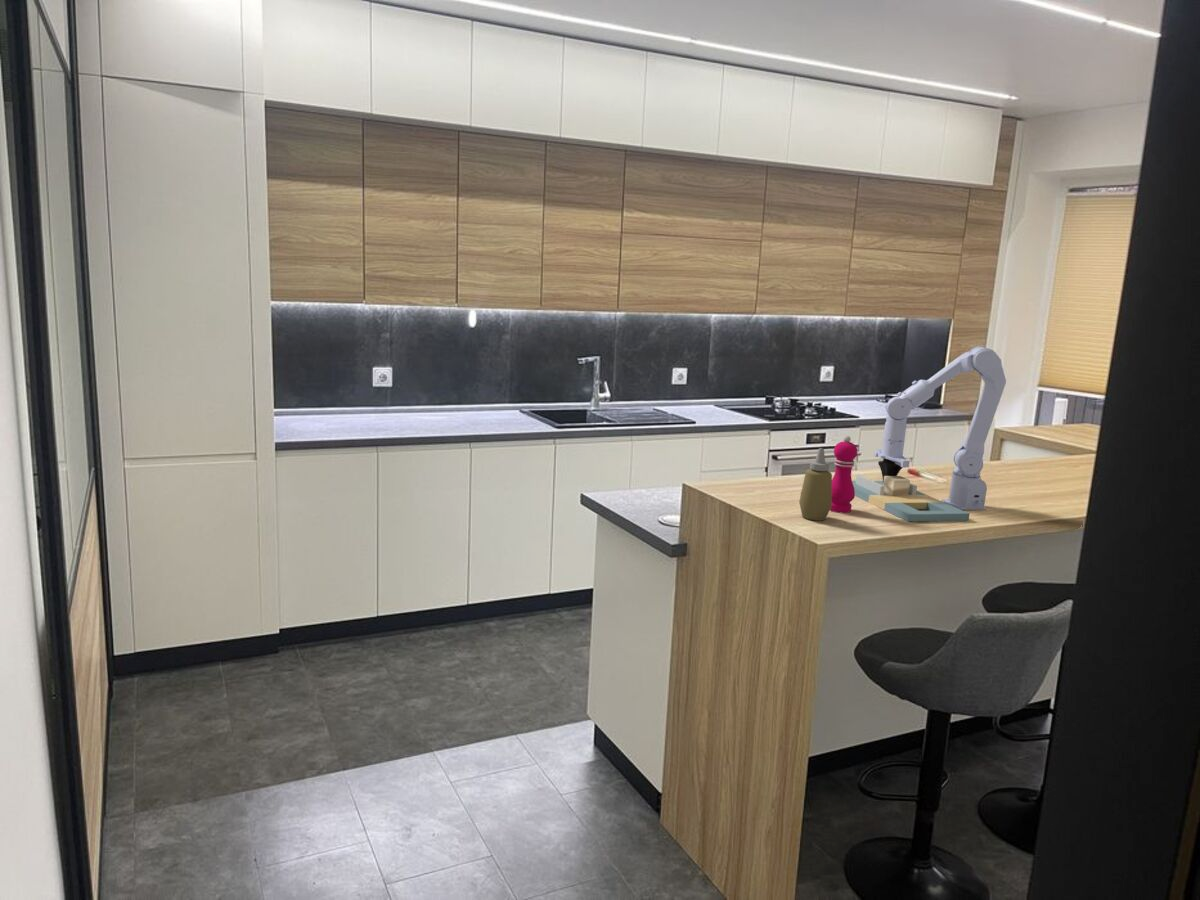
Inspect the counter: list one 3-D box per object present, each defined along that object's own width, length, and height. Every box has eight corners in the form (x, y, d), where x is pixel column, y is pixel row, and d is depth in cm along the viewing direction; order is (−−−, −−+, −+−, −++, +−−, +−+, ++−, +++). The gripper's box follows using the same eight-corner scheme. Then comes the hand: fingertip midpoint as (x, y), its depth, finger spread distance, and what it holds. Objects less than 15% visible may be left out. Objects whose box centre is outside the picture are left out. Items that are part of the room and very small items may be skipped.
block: (908, 495, 242) (910, 480, 241) (892, 496, 241) (894, 480, 240) (897, 491, 246) (899, 475, 246) (882, 491, 245) (884, 475, 244)
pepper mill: (833, 513, 226) (842, 438, 222) (819, 506, 233) (828, 433, 229) (858, 513, 228) (867, 438, 224) (843, 505, 235) (852, 433, 231)
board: (968, 520, 227) (971, 504, 226) (907, 521, 223) (910, 505, 222) (893, 487, 260) (895, 472, 259) (839, 487, 256) (841, 472, 255)
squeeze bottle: (791, 516, 221) (798, 447, 218) (808, 511, 227) (816, 444, 223) (819, 524, 216) (827, 453, 212) (836, 519, 221) (844, 450, 218)
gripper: (867, 434, 250) (861, 480, 253) (895, 445, 237) (889, 493, 239) (889, 434, 252) (883, 480, 255) (918, 445, 238) (912, 493, 241)
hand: (887, 486), depth 247 cm, fingers closed
